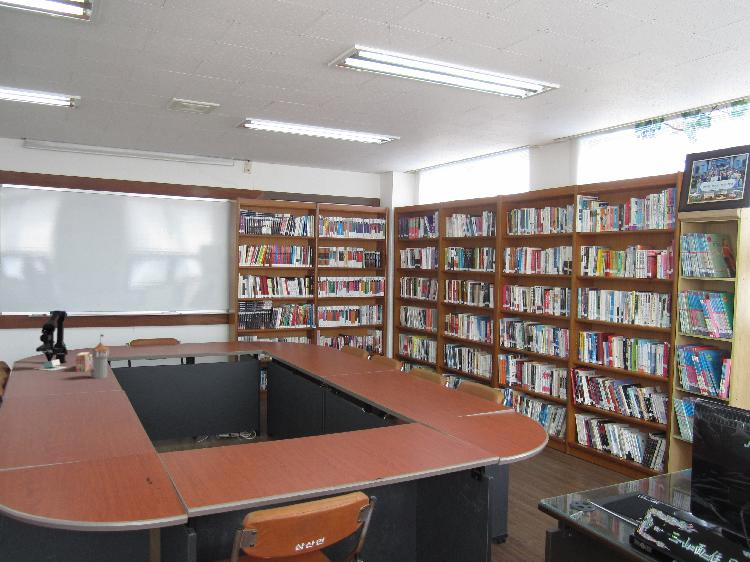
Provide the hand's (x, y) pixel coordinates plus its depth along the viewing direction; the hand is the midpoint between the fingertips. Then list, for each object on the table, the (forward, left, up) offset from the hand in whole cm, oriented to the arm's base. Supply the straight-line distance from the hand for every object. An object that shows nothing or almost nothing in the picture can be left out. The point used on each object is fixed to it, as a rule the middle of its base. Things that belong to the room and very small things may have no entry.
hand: (49, 361), depth 437 cm
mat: (0, +1, -5) cm, 5 cm away
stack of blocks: (-8, +24, -6) cm, 26 cm away
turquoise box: (0, -2, -3) cm, 3 cm away
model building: (+14, +55, -5) cm, 57 cm away
